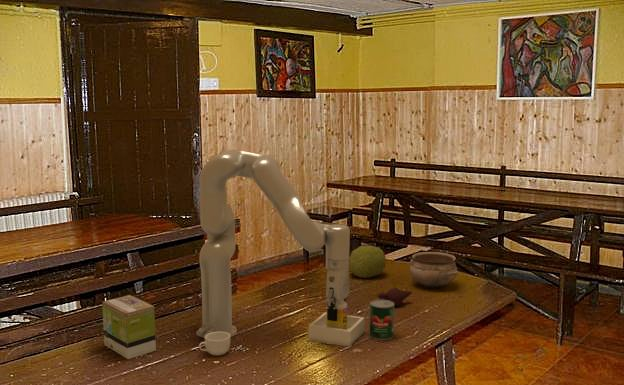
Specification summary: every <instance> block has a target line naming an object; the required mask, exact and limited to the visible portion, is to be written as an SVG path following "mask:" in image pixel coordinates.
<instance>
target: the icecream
mask: <svg viewBox="0 0 624 385" xmlns="http://www.w3.org/2000/svg"><path fill="white" fill-rule="evenodd" d="M412 294H413V291H411V290H401V289H399V288H396V287H395V286H394V287H393V288H390V289H388V291H387V292H383V291H382V292H379V293H378V295H377V297H378V299H379V300H389V301H392V302H394V307H397V306H398V307H399V306H401V305H402V304H403V301H405V300H406V299H407V298H408V297H410V295H412Z"/></svg>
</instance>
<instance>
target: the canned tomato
mask: <svg viewBox="0 0 624 385" xmlns="http://www.w3.org/2000/svg"><path fill="white" fill-rule="evenodd" d="M394 321H395V306H394V302H392V301H389V300H384V299H374V300H373V299H372V300H371V301H370V303H369V335H368V336H369V337H370V338H371V339H373V340H376V341H388V340H391V339H393V338H394V332H395V331H394V329H395V326H394V324H395V322H394Z"/></svg>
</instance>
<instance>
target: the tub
mask: <svg viewBox="0 0 624 385" xmlns="http://www.w3.org/2000/svg"><path fill="white" fill-rule="evenodd" d="M365 322H366V320H365V317H362V316H356V315H355V316H354V315H348V314H347V330H344V329H337V328H330V327H327V311H325V312H323V313H322V314H321V315H320V316H318V317H317V318H316V319H314V321H313V322H311V323H310V324H308V341H309V342H315V343H320V344H321V343H323V344H327V345H328V344H329V345H335V346H340V345H341V346H342V347H346V346H347V347H349V348H351V347H352V346H353V345H354V344H355V342H357V341H358V340H359V338H360V337H362V335H363V334H364V333H365ZM353 343H354V344H353ZM352 344H353V345H352Z"/></svg>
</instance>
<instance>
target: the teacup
mask: <svg viewBox="0 0 624 385" xmlns="http://www.w3.org/2000/svg"><path fill="white" fill-rule="evenodd" d="M202 345H204V346H205V348H202V347H201V346H202ZM230 347H231V337H230V334H229V333H227V332H222V331H218V332H211V333H208V334H206V335H205V338H204V341H202V342H200V343H199V345H198V348H199V349H200V351H203V352H207V353H208V354H210V355H211V356H222V355H225V354H226V353H227V352H228V351H229V350H230Z"/></svg>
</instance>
